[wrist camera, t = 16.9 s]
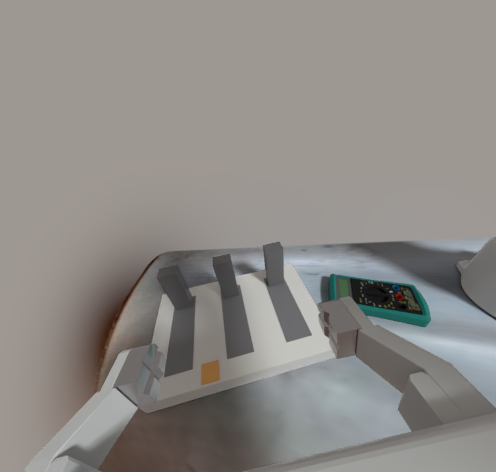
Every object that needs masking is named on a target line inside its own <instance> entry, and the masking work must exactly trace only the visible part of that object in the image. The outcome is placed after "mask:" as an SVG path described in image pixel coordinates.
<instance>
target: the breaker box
mask: <svg viewBox="0 0 496 472" xmlns="http://www.w3.org/2000/svg"><path fill="white" fill-rule="evenodd" d="M235 278H236V282H237V286H238V291H239V295H236V296H233V297H229V298H225V299H224V298H223V295H222V292H221V289H220V285H219V282H218V281H216V282H212V283H208V284H204V285H199V286H195V287H191V288H189V291H190V293H191V295H192V297H193V299H192V306H189V307H185V308H181V309H177V310H176V309H175V308H174V306H173V304H172V302H171V301H170V299H169V297H168V296H167V294H162V299H161V303H160V308H159V312H158V316H157V321H156V325H155V329H154V334H153V338H152V342H151V344H154V343H155V344H156V345H157V346H158V350H157V351H160V352H162V353H163V354H164V356H165V359H166V367H165V371H164V374H163V375H162V377H161V378H160V379H159V381H160V383H161V386H160V390H159V393H158V397H157V401H156V402H154V403H150V404H147V405H143V406H139V407H138V408H139V409H141V410H142V411H144V412H145V413H151V412H154V411H157V410H161V409H164V408H167V407H171V406H174V405H177V404H181V403H184V402H187V401H191V400H194V399H197V398H201V397H204V396H208V395H211V394H214V393H218V392H221V391H224V390H228V389H231V388H234V387H238V386H241V385H244V384H248V383H251V382H254V381H258V380H261V379H264V378H268V377H271V376H274V375H278V374H281V373H284V372H288V371H291V370H294V369H298V368H301V367H304V366H308V365H311V364H315V363H318V362H321V361H325V360H328V359H331V358H335V357H336V356H335V354H334V352H333V351H332V349H331V347H330V345H329V338H328V337H327V336H325V335H324V333H323V331H322V329H321V326H320V323H319V318H318V315H319V313H320V312H319V310H318V308H317V306H316V304H315V303H314V301H313V299H312V298H311V296H310V294H309V292H308V291H307V289H306V287H305V286H304V284H303V282H302V281H301V279H300V277H299V276H298V274H297V272H296V271H295V269H294V267H293V266H292V264H291V263H290V264H286V265H284V283H280V284H276V285H273V286H269V284H268V282H267V279H266V270H261V271H257V272H253V273H249V274H245V275H241V276H236V277H235Z"/></svg>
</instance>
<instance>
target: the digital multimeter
mask: <svg viewBox="0 0 496 472" xmlns="http://www.w3.org/2000/svg"><path fill="white" fill-rule="evenodd" d="M347 296H350V297H351V298H352V299H353V300H354V301H355V303H356V304H357V305H358V306H359V308H360V309H361V310H362V311H363V312H364V314H365V315H369V316H374V317H380V318H385V319H389V320H394V321H399V322H404V323H408V324H413V325H417V326H421V327H426V326H427V324H428V323H429V322H430V321H431V318H430V312H429V308H428V305H427V303H426V301H425V299H424V298H423V296H422V295H421V294H420V292H419V291H418V290H417V289H416V287H415V286H413V285H410V284H401V283H393V282H384V281H376V280H369V279H362V278H355V277H348V276H342V275H335V274H331V275H330V280H329V301H330V300H334V299H339V298H343V297H347ZM365 305H366V306H365ZM371 306H372V307H371ZM377 307H378V308H377ZM382 308H383V309H382ZM388 309H389V310H388ZM394 310H395V311H394Z"/></svg>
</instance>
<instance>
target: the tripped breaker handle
mask: <svg viewBox="0 0 496 472" xmlns="http://www.w3.org/2000/svg"><path fill="white" fill-rule="evenodd" d="M213 267H214V270H215V273H216V276H217V279H218V282H219V285H220V289H221V292H222V295H223V298H224V299H225V298H229V297H233V296H236V295H239V291H238V286H237V282H236V278H235V274H234V269H233V265H232V261H231V257H230V254H227V255H223V256H218V257H214V258H213Z"/></svg>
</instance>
